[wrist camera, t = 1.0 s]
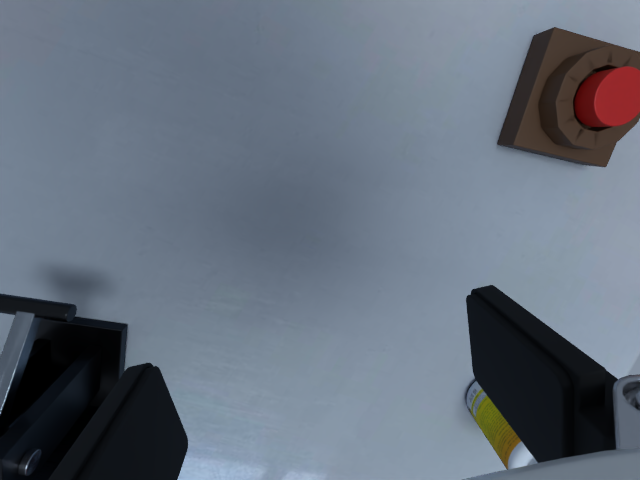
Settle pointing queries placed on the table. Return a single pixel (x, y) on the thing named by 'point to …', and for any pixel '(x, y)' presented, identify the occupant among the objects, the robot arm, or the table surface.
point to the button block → (563, 98)
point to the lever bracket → (59, 389)
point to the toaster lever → (23, 342)
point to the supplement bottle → (497, 430)
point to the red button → (609, 97)
